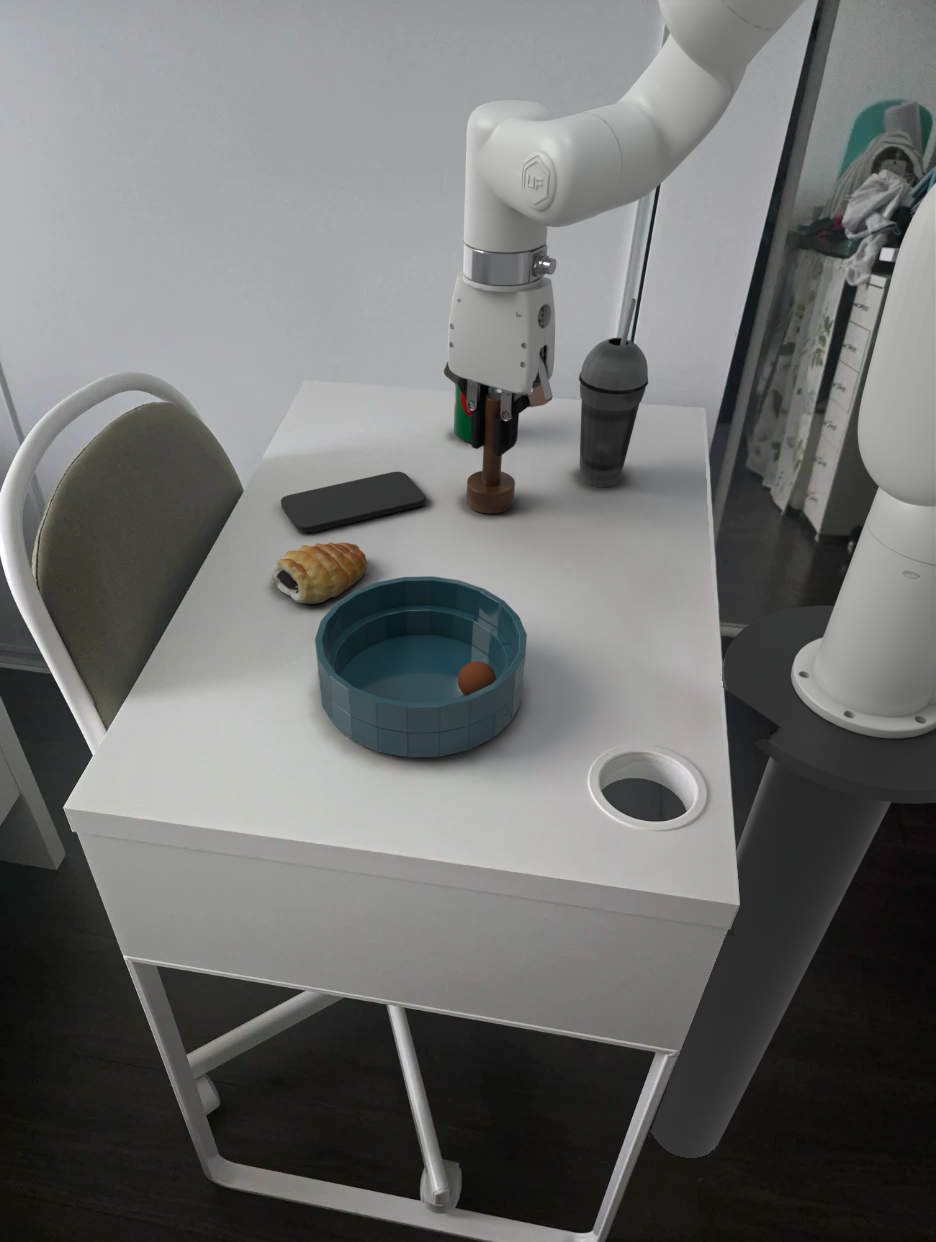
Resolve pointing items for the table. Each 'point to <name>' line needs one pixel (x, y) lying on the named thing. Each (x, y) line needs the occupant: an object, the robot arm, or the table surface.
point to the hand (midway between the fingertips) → (493, 445)
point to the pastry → (319, 571)
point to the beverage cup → (610, 405)
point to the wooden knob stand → (490, 469)
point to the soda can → (463, 416)
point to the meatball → (475, 677)
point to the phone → (352, 501)
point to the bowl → (419, 665)
